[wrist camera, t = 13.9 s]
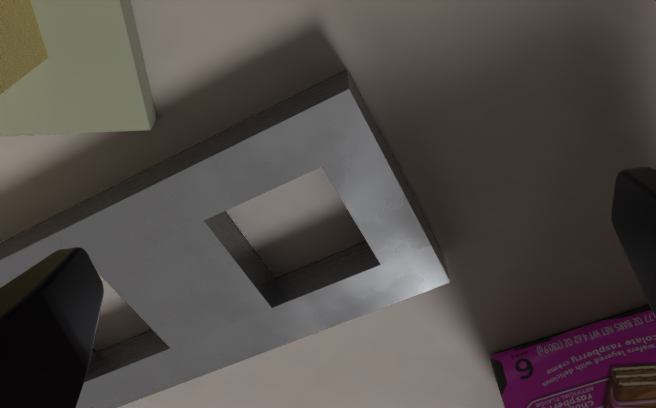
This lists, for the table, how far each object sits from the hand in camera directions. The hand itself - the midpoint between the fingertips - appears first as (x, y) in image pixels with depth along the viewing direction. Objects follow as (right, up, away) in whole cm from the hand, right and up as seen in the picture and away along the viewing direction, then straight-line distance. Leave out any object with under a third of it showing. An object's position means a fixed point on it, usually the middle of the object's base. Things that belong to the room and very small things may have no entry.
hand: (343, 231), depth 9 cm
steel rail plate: (-7, -2, +17) cm, 18 cm away
